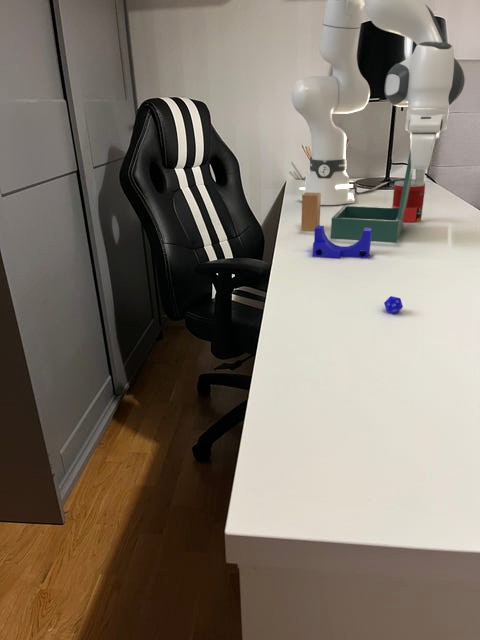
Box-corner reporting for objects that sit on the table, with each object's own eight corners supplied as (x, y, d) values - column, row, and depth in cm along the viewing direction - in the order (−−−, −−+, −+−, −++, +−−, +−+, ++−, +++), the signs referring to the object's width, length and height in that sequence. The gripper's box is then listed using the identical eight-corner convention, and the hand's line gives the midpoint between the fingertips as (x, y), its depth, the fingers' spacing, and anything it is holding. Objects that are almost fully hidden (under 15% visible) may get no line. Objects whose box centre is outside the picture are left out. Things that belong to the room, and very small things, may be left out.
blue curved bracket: (312, 256, 111) (313, 230, 109) (316, 251, 115) (317, 225, 113) (367, 260, 108) (369, 232, 105) (369, 254, 112) (371, 228, 109)
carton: (304, 230, 135) (305, 192, 131) (319, 230, 133) (320, 192, 130) (301, 233, 131) (302, 194, 127) (316, 234, 130) (317, 195, 126)
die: (405, 314, 80) (402, 303, 78) (389, 319, 81) (385, 308, 79) (401, 301, 82) (397, 290, 80) (385, 306, 83) (381, 295, 81)
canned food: (422, 225, 136) (427, 184, 131) (391, 225, 137) (395, 184, 133) (419, 219, 143) (423, 180, 138) (390, 219, 144) (393, 180, 140)
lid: (411, 144, 108) (415, 144, 108) (415, 139, 123) (419, 139, 122) (397, 219, 115) (400, 219, 115) (402, 206, 129) (406, 206, 129)
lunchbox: (330, 241, 123) (331, 218, 121) (342, 226, 137) (344, 205, 135) (396, 245, 118) (398, 221, 115) (402, 230, 132) (404, 208, 130)
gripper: (414, 120, 123) (408, 178, 129) (408, 124, 106) (401, 191, 111) (441, 120, 121) (434, 179, 126) (440, 124, 104) (431, 192, 109)
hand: (419, 184), depth 119 cm, fingers closed
